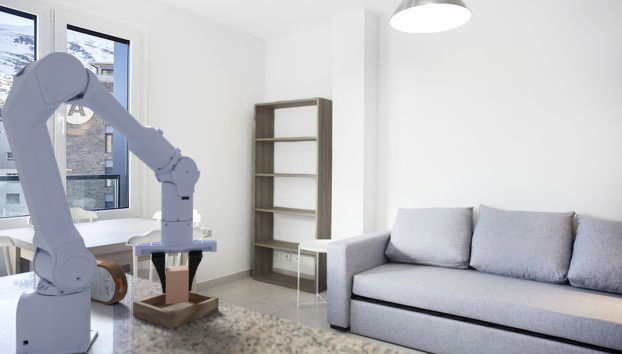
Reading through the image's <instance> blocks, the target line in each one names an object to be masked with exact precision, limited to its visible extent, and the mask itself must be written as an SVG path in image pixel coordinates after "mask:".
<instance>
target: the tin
mask: <svg viewBox="0 0 622 354" xmlns="http://www.w3.org/2000/svg"><path fill="white" fill-rule="evenodd" d="M94 257H95V259H96V261H97V272H96V275H95V277H94V279H93V280H92V281H91V285H90V286H91V301H94V302H98V303H100V304H104V305H112V304H115V303H117V302H121V301H123V300H124V299H125V297H127V293H128V289H129V288H128V287H129V283H128V277H127V274H126V272H125V271H124V269H123V267H122V266H121V265H120V264H119V263H118V262H116V261H113V260H110V259H104V258H99V257H96V256H94Z"/></svg>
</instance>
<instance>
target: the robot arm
mask: <svg viewBox="0 0 622 354" xmlns="http://www.w3.org/2000/svg"><path fill="white" fill-rule="evenodd" d="M62 104H64V105H70V106H75V107H76V106H77V107H82V108H87V109H89V110H90V111H92V112H93V113H94V114H95V115H96V116H98V117H99V118H101V119H102V121H104V122H105V123H106V124H108V125H109V126H110V127H111V128H112V129H114V130H115V131H117V132H118V133H119V134H120V135H122V136H123V137H124V138H126V140H127V148H128V150H129V151H130V152H131V153H132V154H133V155H134V156H135V157H137V159H139V160H140V161H141V162H142V163H143V164H145V165H146V166H147V167H149V168H150V169H151V171H153V172H154V176H155V179H156V181H157V182H158V183H161V197H160V199H161V211H160V212H161V215H160V217H161V220H160V221H161V223H160V224H161V225H160V234H161V235H160V241H152V242H151V241H149V242H141V243H139V242H138V243H135V246H134V250H135V251H134V255H135V257H141V256H144V255H150V256H151V257H150V259H151V262H152V265H153V266H154V268H155V270H156V273H157V275H158V278H159V281H160V286H161V293H166V255H168V254H186V253H187V265H188V270H189V289H188V291H192V289H193V288H192V287H193V284H194V278H195V276H196V273H197V271H198V268H199V265H200V264H201V262H202V260H203V257H204V255H203V253H204V252H207V253H208V252H210V253H216V252H217V251H218V250H217V248H218V247H217V246H218V245H217V244H218V243H217V240H216V239H215V240H213V239H211V240H208V239H207V240H205V239H204V240H202V239H201V240H200V239H198V240H197V239H194V235H193V234H194V193H195V187H196V184H197V182H198V181H199V179H200V176H201V171H200V170H199V168H198V166H197V163H196V162H195V160H194V159H192V158H191V157H189V156H185V155H184V156H183V155H182V153H181V152H182V150H181V149H180V148H179V147H175V146H174V145H173V144H172V143H171V142H170V141H169V140H168V139H167V138H166V137H165V136H163V135H164V132H163V131H162V129H161V128H159V127H157V128H155V127H154V126H152V125H142V124H141V123H140V122H139V121H138V120H137V118H135V117H134V116H133V115H132V114H131V113H130V112H129V111H128V110H127V108H125V106H123V104H122V103H121V102H120V101H119V100H118V99H117V97H115V96H114V95H113V94H112V93H111V92H110V91H109V90H108V89H107V88H106V86H104V85H103V84H102V82H101V81H100V79H99V78H98V76H97V75H96V73H95V72H94V71H93V70H91V69H90V68H88V67H85V66H84V64H83V63H82V61H81V60H80V59H79V58H78V57H76V56H75V55H73V54H71V53H69V52H65V51H53V52H50V53H48V54H46V55H45V56H44V57H42V58H39V59H37V60H33V61H30V62H28V63H27V64H26V65H25V66H23V67H22V68H21V69H20V70H19V71H17V72H16V73H15V74H14V75H13V78H12V84H11V85H10V89H9V92H8V94H7V96H6V99H5V101H4V104H3V106H2V108H1V111H0V115H1V116H0V117H1V118H0V119H1V120H2V121H1V122H2V125H3V128H4V132H5V135H6V139H7V141H8V142H7V143H8V146H9V148H10V152H11V155H12V159H13V162H14V165H15V168H16V173H17V175H18V179H19V184H20V186H21V189H22V193H23V196H24V199H25V203H26V206H27V209H28V213H29V217H30V220H31V224H32V227H33V229H34V234H33V236H32V240H31V241H32V244H33V249H34V251H33V252H34V253H33V258H32V261H31V265H32V266H31V267H32V270H33V272H34V274H35V275H36V276H37V277H38V278H40V279H39V281H38V283H37V286H36V288H35V289H28V290H24V291H23V292H22V293H21V294H20V296H19V298H18V301H17V304H16V310H15V311H16V312H15V354H82V353H83V354H84V353H86V352H87V351H88V350H89V348H90V346H91V345H92V343H93V342H94V340H95V338H96V337H97V335H98V333H99V330H98V329H97V328H96V329H92V323H91V322H92V321H91V320H92V317H91V314H92V313H91V309H92V308H91V303H92V300H91V286H90V285H91V281H92V280H93V279H94V277H95V275H96V272H97V261H96V259H95V257H96V256H95V255H94V254H93V253H92V252H91V251H90V250H88V248H87V246H86V242H85V240H84V238H83V236H82V234H81V233H80V232H79V230H78V229H77V227H76V226H75V224H74V221H73V217H72V213H71V210H70V205H69V203H68V198H67V195H66V194H67V193H66V192H65V187H64V184H63V179H62V176H61V172H60V169H59V166H58V161H57V159H56V155H55V151H54V147H53V143H52V140H51V137H50V136H51V135H50V133H49V129H48V126H47V122H48V120H50V118H51V117H52V116H53V115H54V113H55V112H56V111H57V110H58V109H59V108H60V106H61V105H62Z"/></svg>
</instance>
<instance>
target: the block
mask: <svg viewBox="0 0 622 354" xmlns="http://www.w3.org/2000/svg"><path fill="white" fill-rule="evenodd" d="M165 274H166V304H174V303H186V302H188V289H189V270H188V264H186V265H170V266H165Z"/></svg>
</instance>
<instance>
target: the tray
mask: <svg viewBox="0 0 622 354" xmlns="http://www.w3.org/2000/svg"><path fill="white" fill-rule="evenodd" d="M219 303H220V301H219V297H216V296H213V295H209V294H205V293H201V292H199V291H194V290H191V291H188V302H186V303H174V304H166V293H162V292H161V293H158V294H155V295H151V296H148V297H145V298H142V299H137V300H135V301H133V302H132V315H133V316H134V317H137V318H141V319H143V320H146V321H147V322H151V323H154V324H156V325H161V326H162V327H165V328H168V329H170V330H172V329H174V328H177V327H179V326H180V327H181V326H182V325H186V324H187V323H190V322H193V321H196V320H198V319H201V318H203V317H205V316H209V315H211V314H214V313H216V312H219Z"/></svg>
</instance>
